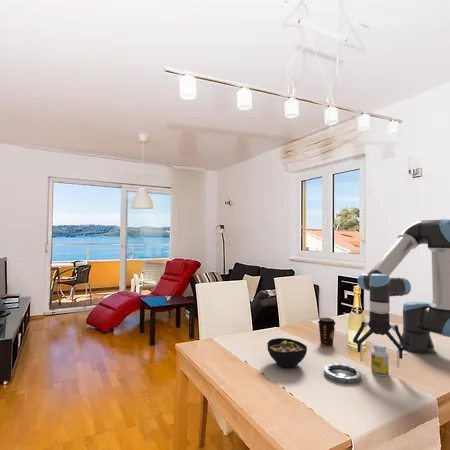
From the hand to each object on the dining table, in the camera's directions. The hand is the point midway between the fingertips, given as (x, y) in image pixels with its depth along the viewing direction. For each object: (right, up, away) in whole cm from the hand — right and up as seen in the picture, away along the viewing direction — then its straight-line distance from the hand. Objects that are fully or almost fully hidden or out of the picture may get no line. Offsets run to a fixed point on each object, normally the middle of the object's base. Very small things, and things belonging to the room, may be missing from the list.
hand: (379, 363), depth 131 cm
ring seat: (-16, -4, -2) cm, 17 cm away
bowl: (-37, -4, +8) cm, 38 cm away
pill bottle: (0, -4, 0) cm, 4 cm away
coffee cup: (-11, -5, +34) cm, 36 cm away
